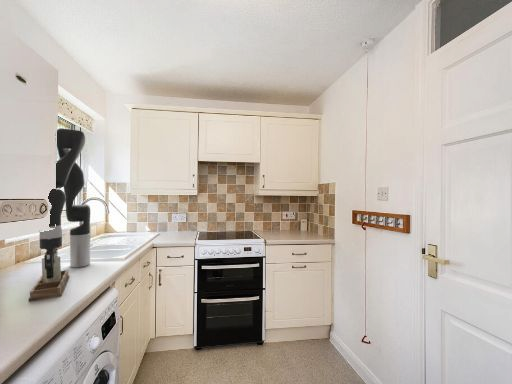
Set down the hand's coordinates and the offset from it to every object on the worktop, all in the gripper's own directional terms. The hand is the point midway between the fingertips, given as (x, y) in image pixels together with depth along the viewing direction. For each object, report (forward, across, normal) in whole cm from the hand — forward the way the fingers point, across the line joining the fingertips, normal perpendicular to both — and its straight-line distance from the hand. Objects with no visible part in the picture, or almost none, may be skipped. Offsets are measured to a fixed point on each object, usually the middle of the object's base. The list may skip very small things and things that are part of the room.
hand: (51, 275), depth 113 cm
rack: (+5, 0, 0) cm, 5 cm away
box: (+3, 0, 0) cm, 3 cm away
